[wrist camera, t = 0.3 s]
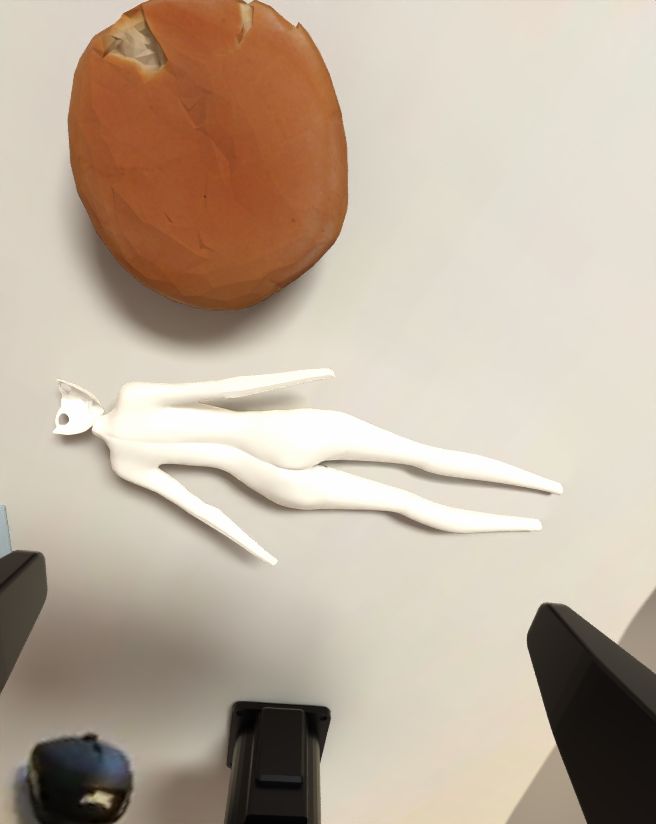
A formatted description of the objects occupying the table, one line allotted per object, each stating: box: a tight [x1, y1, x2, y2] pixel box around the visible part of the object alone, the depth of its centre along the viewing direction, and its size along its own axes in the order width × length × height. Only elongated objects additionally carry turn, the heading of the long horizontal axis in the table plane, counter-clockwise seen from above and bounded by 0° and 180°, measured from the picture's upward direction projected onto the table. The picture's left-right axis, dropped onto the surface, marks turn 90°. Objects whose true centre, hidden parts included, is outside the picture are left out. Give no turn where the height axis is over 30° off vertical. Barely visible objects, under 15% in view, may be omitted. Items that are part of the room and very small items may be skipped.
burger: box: [68, 0, 348, 311], centre depth 16 cm, size 10×9×5 cm
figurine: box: [52, 368, 563, 566], centre depth 22 cm, size 10×4×25 cm
